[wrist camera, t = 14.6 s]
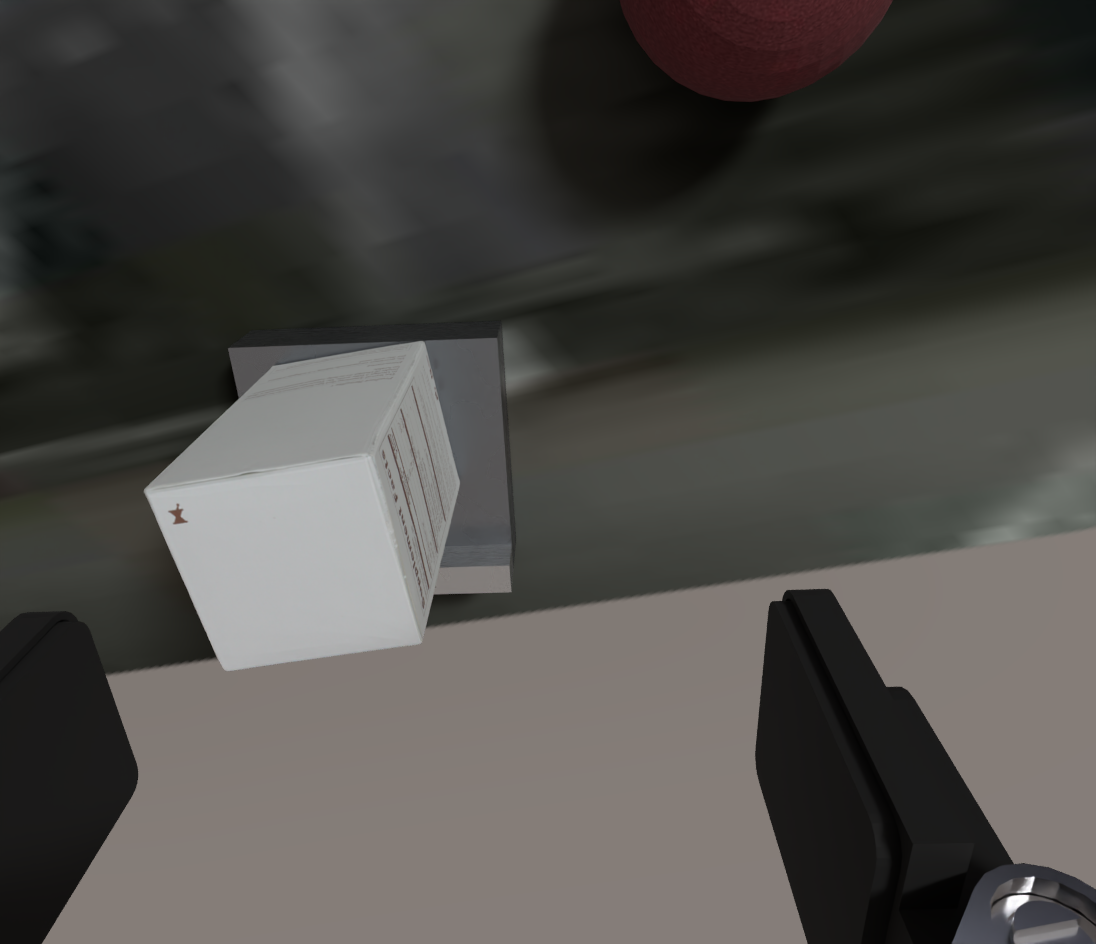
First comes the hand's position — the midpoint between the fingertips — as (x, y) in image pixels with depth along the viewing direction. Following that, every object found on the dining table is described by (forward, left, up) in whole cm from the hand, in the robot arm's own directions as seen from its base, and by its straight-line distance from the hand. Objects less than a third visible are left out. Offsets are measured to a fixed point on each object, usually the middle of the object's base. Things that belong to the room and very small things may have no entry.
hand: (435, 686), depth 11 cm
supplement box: (+6, -7, -26) cm, 27 cm away
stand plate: (+8, -7, -28) cm, 30 cm away
